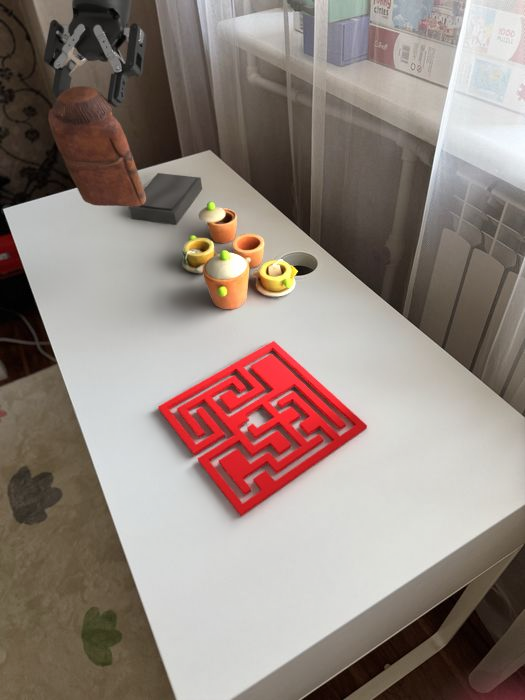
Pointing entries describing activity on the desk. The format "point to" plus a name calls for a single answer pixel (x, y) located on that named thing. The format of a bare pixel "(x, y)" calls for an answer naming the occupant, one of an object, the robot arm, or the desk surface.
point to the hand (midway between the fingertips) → (86, 102)
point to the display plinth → (167, 198)
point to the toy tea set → (234, 261)
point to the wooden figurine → (95, 149)
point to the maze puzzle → (235, 461)
